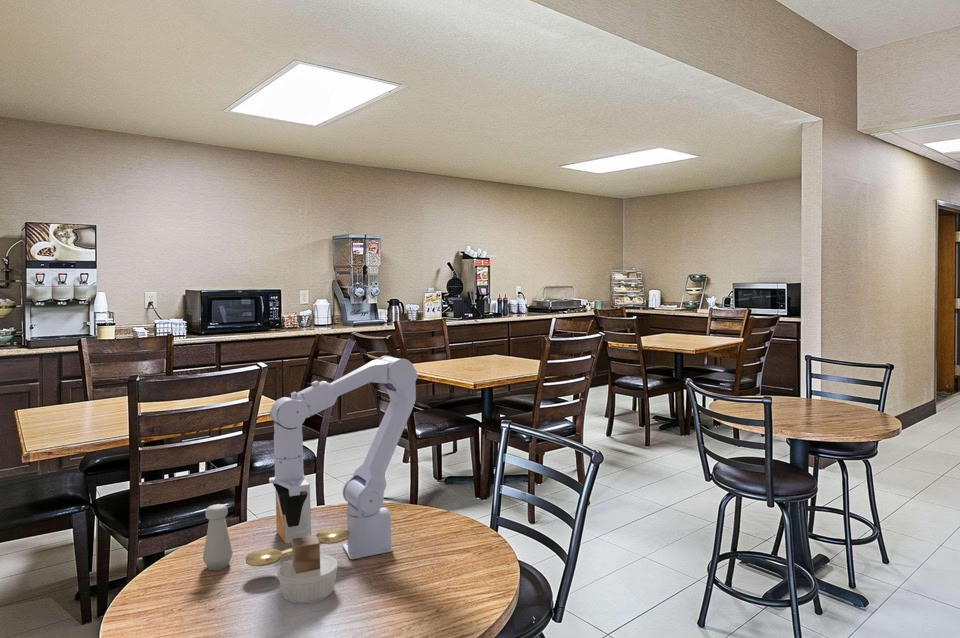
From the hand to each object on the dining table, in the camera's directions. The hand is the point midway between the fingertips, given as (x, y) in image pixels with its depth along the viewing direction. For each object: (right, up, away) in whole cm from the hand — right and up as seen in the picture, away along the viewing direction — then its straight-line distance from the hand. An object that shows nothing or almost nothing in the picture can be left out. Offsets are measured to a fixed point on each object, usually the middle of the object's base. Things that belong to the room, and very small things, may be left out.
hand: (290, 519), depth 128 cm
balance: (+2, -10, 0) cm, 11 cm away
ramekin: (+7, -11, -10) cm, 16 cm away
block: (+6, -6, -10) cm, 13 cm away
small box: (-5, -10, +18) cm, 21 cm away
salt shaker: (-16, -11, +2) cm, 19 cm away
